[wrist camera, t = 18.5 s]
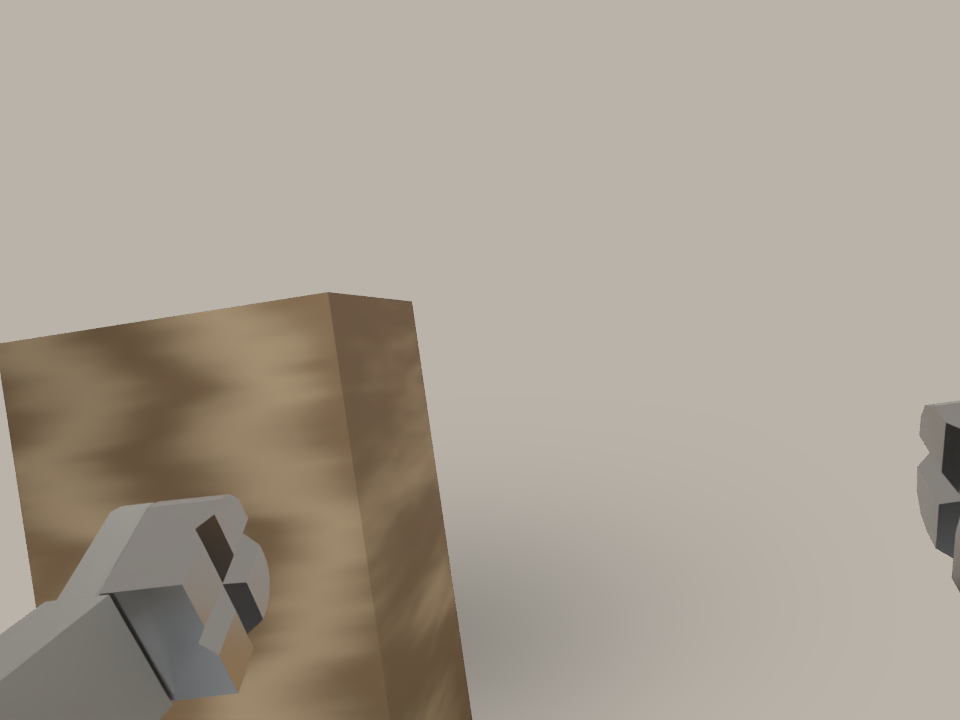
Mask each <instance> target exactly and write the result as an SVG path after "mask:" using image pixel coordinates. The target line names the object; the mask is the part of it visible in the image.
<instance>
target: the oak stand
mask: <svg viewBox="0 0 960 720" xmlns="http://www.w3.org/2000/svg"><path fill="white" fill-rule="evenodd" d="M0 373H1V380H2V386H3V393H4V400H5V406H6V413H7V419H8V426H9V432H10V439H11V445H12V452H13V458H14V465H15V471H16V478H17V484H18V491H19V497H20V503H21V511H22V517H23V524H24V530H25V537H26V544H27V550H28V556H29V563H30V570H31V576H32V583H33V589H34V596H35V602H36V608H37V607H39V606H40V605H41V604H43V603H44V602H47V601H55V600H57V599H58V597H59V596H60V594H61V592H62V591H63V589H64V588H65V586H66V584H67V583H68V581H69V579H70V578H71V576H72V574H73V573H74V571H75V569H76V568H77V566H78V565H79V563H80V561H81V560H82V558H83V556H84V555H85V553H86V551H87V550H88V548H89V547H90V545H91V543H92V542H93V540H94V538H95V537H96V535H97V533H98V532H99V530H100V529H101V527H102V525H103V524H104V522H105V520H106V519H107V517H108V515H109V514H110V512H111V511H113V510H115V509H117V508H119V507H121V506H127V505H136V504H144V503H156V502H159V501H169V500H178V499H188V498H197V497H207V496H216V495H226V494H230V495H232V496H234V497H236V498H239V500H240V502H241V505H242V507H243V509H244V511H245V513H246V515H247V517H248V521H247V523H246V526H245V528H244V531H243V534H245V535H246V536H248V537H249V538H251V539H252V540H254V541H255V542H256V543H258V544H259V545H260V546H261V548H262V551H263V553H264V555H265V558H266V561H267V565H268V570H269V575H270V590H269V602H268V606H267V609H266V612H265V615H264V619H263V620H262V621H261V622H260V623H259V624H258V625H257V626H256V627H255V628H253V629H252V630H251V631H250V632H249V633H248V634H247V635H248V637H249V639H250V642H251V644H252V646H253V648H254V649H253V652H252V654H251V657H250V660H249V663H248V666H247V669H246V672H245V675H244V678H243V681H242V684H241V687H240V690H239V693H236V694H228V695H220V696H211V697H203V698H195V699H187V700H179V701H171V702H172V706H171V707H170V708H169V710H168V711H167V712H166V713H165V714H164V715H163V716H162V717H161V718H160V720H472V715H471V709H470V702H469V695H468V688H467V681H466V674H465V667H464V660H463V653H462V646H461V639H460V632H459V625H458V618H457V611H456V604H455V597H454V590H453V584H452V577H451V570H450V563H449V556H448V549H447V542H446V535H445V528H444V522H443V514H442V507H441V500H440V493H439V486H438V479H437V473H436V466H435V459H434V452H433V445H432V438H431V432H430V424H429V417H428V411H427V403H426V396H425V390H424V383H423V376H422V369H421V362H420V355H419V348H418V341H417V334H416V327H415V320H414V314H413V306H412V302H411V301H402V300H393V299H384V298H375V297H366V296H356V295H348V294H338V293H330V292H327V293H321V294H314V295H307V296H301V297H295V298H288V299H282V300H276V301H270V302H263V303H256V304H250V305H244V306H237V307H231V308H224V309H218V310H212V311H205V312H199V313H193V314H186V315H180V316H173V317H167V318H160V319H154V320H148V321H141V322H135V323H128V324H122V325H116V326H110V327H103V328H96V329H90V330H84V331H77V332H71V333H64V334H58V335H52V336H45V337H39V338H33V339H26V340H20V341H14V342H7V343H0Z"/></svg>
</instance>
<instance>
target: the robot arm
mask: <svg viewBox="0 0 960 720" xmlns="http://www.w3.org/2000/svg"><path fill="white" fill-rule="evenodd" d="M920 437H921V439H922V440H923V442H924V444H925V445H926V447H927V449H928V450H929V452H930V453H929V455H928V456H927V457H926V458H925V459H924V460H923V461H922V462H921V464H920V465H919V466H918V470H917V493H918V499H919V505H920V511H921V515H922V518H923V521H924V524H925V527H926V529H927V532H928V534H929V536H930V538H931V540H932V542H933V544H934V546H935V547H936V549H938V550H940V551H942V552H943V553H945V554H947V555H949V556H950V557H952V558H953V571H952V579H953V581H954V583H955V584H956V586H957V588H958V590H959V592H960V401H954V402H947V403H939V404H932V405H925V407H924V410H923V413H922V416H921V423H920ZM247 521H248V517H247V515H246V513H245V511H244V509H243V507H242V505H241V502H240V500H239V498H236V497H234V496H232V495H230V494H226V495H216V496H207V497H197V498H188V499H178V500H169V501H159V502H156V503H144V504H136V505H127V506H121V507H119V508H117V509H115V510H113V511H111V512H110V514H109V515H108V517H107V519H106V520H105V522H104V524H103V525H102V527H101V529H100V530H99V532H98V533H97V535H96V537H95V538H94V540H93V542H92V543H91V545H90V547H89V548H88V550H87V551H86V553H85V555H84V556H83V558H82V560H81V561H80V563H79V565H78V566H77V568H76V569H75V571H74V573H73V574H72V576H71V578H70V579H69V581H68V583H67V584H66V586H65V588H64V589H63V591H62V592H61V594H60V596H59V597H58V599H57V600H55V601H47V602H44V603H43V604H41V605H40V606H39V607H37V608H36V609H35V610H33V611H32V612H30V613H29V614H28V615H26V616H25V617H24V618H22V619H21V620H19V621H18V622H17V623H15V624H14V625H13V626H11V627H10V628H9V629H8V630H6V631H5V632H3V633H2V634H1V635H0V720H160V718H161V717H162V716H163V715H164V714H165V713H166V712H167V711H168V710H169V708H170V707H171V706H172V702H171V701H179V700H187V699H195V698H203V697H211V696H220V695H228V694H236V693H239V690H240V687H241V684H242V681H243V678H244V675H245V672H246V669H247V666H248V663H249V660H250V657H251V654H252V652H253V649H254V648H253V646H252V644H251V642H250V639H249V637H248V635H247V634H248V633H249V632H250V631H251V630H252V629H253V628H255V627H256V626H257V625H258V624H259V623H260V622H261V621H262V620H263V619H264V615H265V612H266V609H267V606H268V602H269V590H270V575H269V570H268V565H267V561H266V558H265V555H264V553H263V551H262V548H261V546H260V545H259V544H258V543H256V542H255V541H254V540H252V539H251V538H249V537H248V536H246V535H245V534H243V531H244V528H245V526H246V523H247Z"/></svg>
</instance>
